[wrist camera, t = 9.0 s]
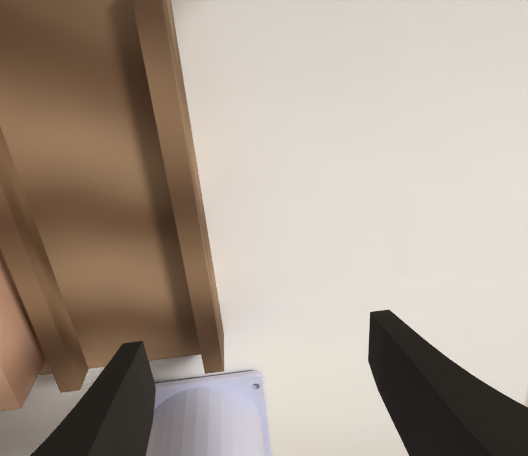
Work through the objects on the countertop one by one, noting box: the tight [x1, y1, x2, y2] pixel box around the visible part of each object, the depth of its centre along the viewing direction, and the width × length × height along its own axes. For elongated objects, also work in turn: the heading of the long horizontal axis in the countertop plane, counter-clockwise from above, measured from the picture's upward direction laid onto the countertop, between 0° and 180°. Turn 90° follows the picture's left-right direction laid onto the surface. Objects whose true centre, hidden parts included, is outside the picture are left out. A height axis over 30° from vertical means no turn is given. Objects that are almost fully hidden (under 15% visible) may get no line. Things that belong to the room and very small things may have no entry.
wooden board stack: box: [0, 0, 224, 392], centre depth 19 cm, size 18×16×3 cm
